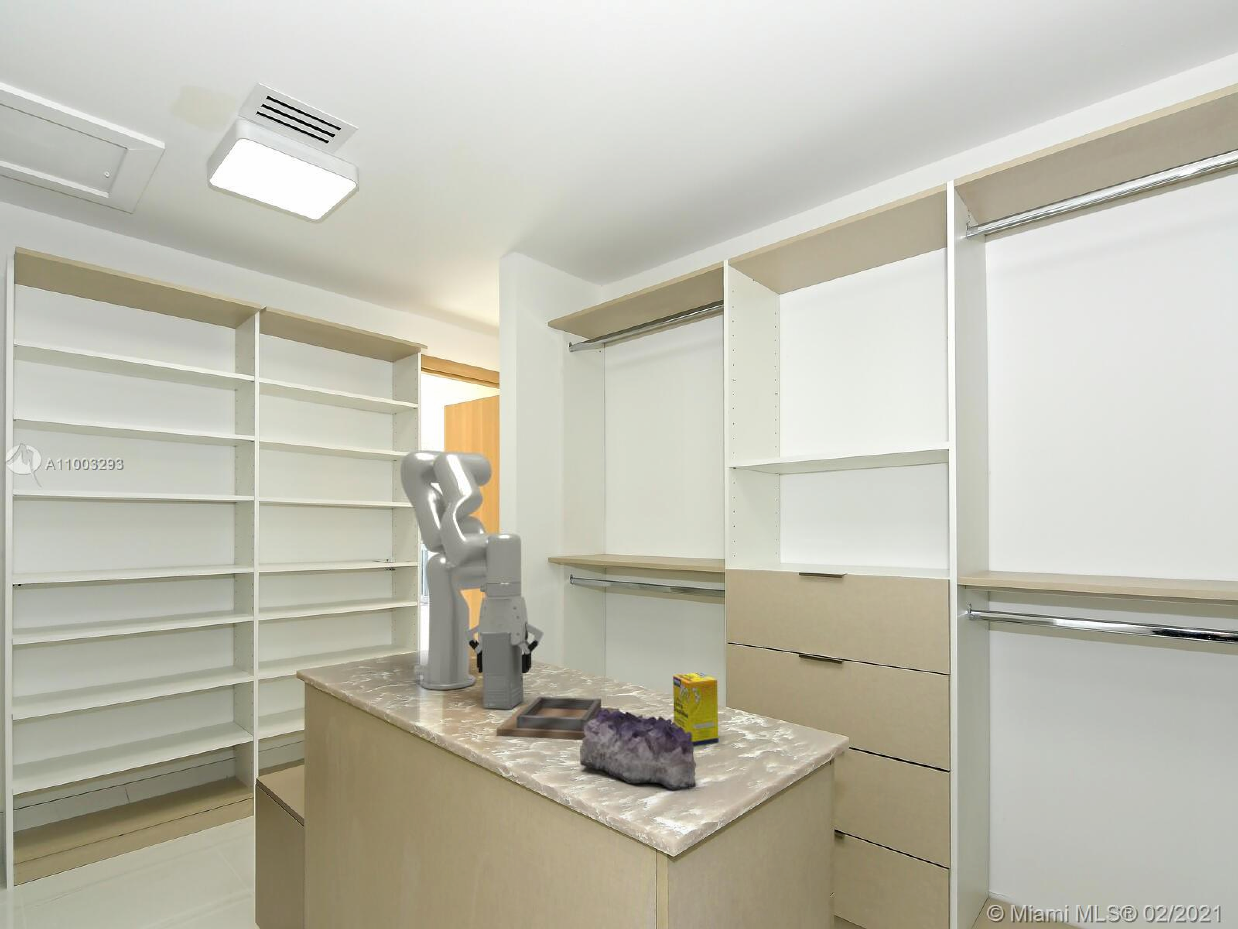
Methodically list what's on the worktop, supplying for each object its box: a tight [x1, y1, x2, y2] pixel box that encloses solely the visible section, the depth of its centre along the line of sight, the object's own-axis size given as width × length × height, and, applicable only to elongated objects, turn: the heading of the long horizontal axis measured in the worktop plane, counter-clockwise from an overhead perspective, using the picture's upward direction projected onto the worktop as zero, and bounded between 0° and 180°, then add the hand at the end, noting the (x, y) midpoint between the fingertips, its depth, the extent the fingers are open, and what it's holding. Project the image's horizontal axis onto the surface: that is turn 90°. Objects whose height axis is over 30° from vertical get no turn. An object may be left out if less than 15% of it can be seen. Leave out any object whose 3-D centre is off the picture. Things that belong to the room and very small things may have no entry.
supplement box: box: [672, 672, 719, 747], centre depth 117 cm, size 6×6×11 cm
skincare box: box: [482, 632, 524, 710], centre depth 141 cm, size 8×7×16 cm
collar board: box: [496, 696, 620, 741], centre depth 126 cm, size 20×16×3 cm
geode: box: [579, 708, 697, 792], centre depth 102 cm, size 20×12×10 cm, turn 54°
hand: (504, 672), depth 140 cm, fingers open, 9 cm apart
